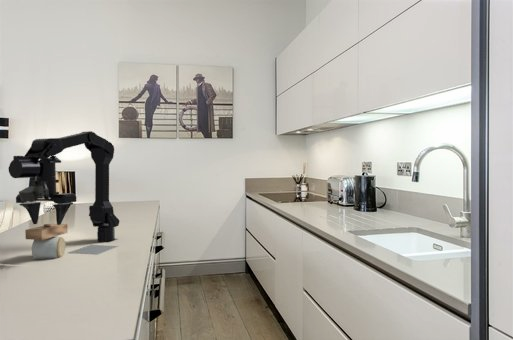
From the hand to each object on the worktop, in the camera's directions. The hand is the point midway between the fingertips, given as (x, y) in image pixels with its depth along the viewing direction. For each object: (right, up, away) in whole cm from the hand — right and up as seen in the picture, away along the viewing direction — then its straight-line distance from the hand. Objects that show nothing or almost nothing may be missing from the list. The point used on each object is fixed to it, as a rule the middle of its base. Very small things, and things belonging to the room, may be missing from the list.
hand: (46, 224), depth 116 cm
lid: (0, -4, +1) cm, 4 cm away
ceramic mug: (0, -12, +2) cm, 12 cm away
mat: (+11, -11, +10) cm, 18 cm away
